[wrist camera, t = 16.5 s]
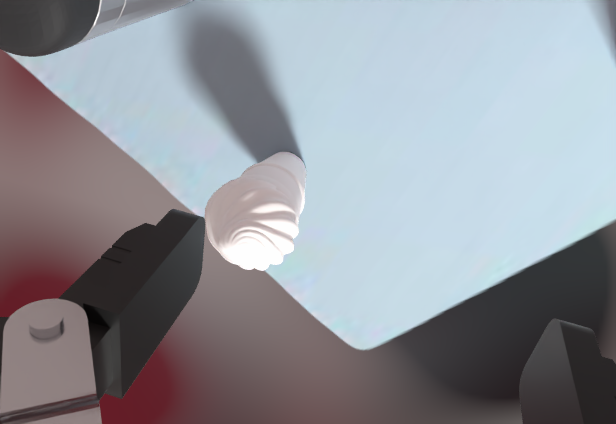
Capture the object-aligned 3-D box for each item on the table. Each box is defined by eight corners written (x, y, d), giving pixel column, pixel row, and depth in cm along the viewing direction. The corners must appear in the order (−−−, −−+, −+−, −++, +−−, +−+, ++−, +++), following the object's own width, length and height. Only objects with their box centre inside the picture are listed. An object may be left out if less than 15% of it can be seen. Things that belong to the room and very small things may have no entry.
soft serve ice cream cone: (340, 190, 55) (301, 284, 41) (273, 216, 58) (217, 310, 45) (300, 119, 52) (245, 194, 38) (233, 151, 55) (160, 230, 42)
